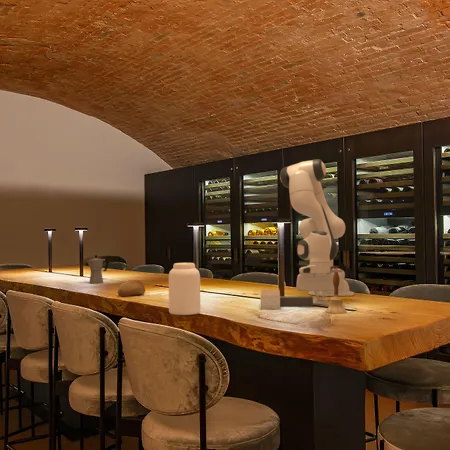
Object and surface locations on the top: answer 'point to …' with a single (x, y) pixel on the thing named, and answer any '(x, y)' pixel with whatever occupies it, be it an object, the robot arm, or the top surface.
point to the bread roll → (131, 288)
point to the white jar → (184, 289)
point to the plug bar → (296, 301)
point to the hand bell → (336, 298)
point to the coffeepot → (97, 269)
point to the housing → (270, 300)
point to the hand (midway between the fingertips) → (320, 301)
